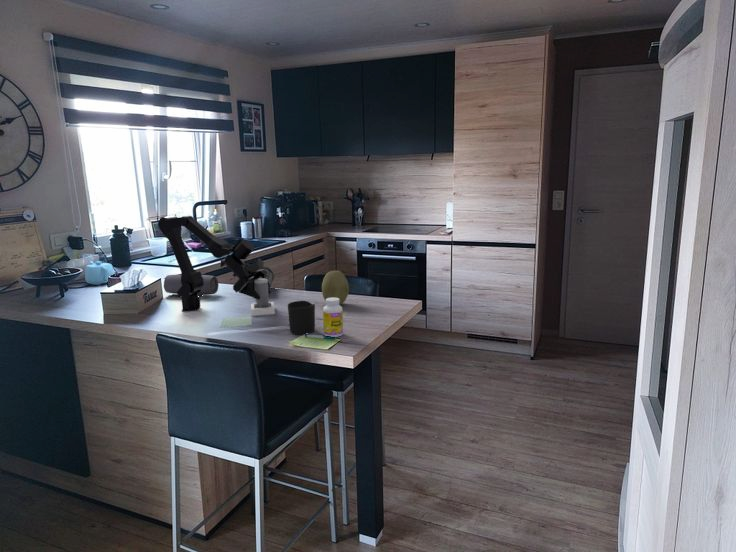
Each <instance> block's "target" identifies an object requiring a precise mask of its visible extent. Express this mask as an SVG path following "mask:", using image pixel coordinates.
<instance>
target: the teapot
mask: <svg viewBox="0 0 736 552" xmlns="http://www.w3.org/2000/svg"><path fill="white" fill-rule="evenodd" d="M89 263H90V264H88V265H85V270H84V271H85V272H84V278H85V281H86V283H87V284H90V285H95V286H101V284H108V283H107V280H108V277H109V276H110V275H112V274H115V275H116V273H115V270H114V266H113V265H112V264H111V263H108V262H102V261H101V260H100V261H95V262H94V261H92V260H90V261H89Z"/></svg>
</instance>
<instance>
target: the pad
mask: <svg viewBox="0 0 736 552" xmlns="http://www.w3.org/2000/svg"><path fill="white" fill-rule="evenodd" d="M252 317H253V316H241V317H227V318H222V319H221V321H220V322H221V323H220V328H234V327H243V326H244V327H246V326H252Z"/></svg>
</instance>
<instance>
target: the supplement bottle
mask: <svg viewBox="0 0 736 552" xmlns="http://www.w3.org/2000/svg"><path fill="white" fill-rule="evenodd" d="M339 302H340V301H339V298H335V297H332V298H327V299H326V301H325V304H326V305H325V306H323V309H322V315H323V316H322V317H323V336H325V337H326V336H331V337H335V338H340V337H341V336H343V333H344V327H343V325H344V324H343V323H344V319H343V318H344V317H343V316H344V315H343V313H344V311H343V307H342V306H341V305H339ZM339 336H340V337H339Z"/></svg>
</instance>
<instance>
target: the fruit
mask: <svg viewBox="0 0 736 552" xmlns="http://www.w3.org/2000/svg"><path fill="white" fill-rule="evenodd" d="M349 285H350V284H349V281H348V279H347V277H346V276H345V274H344V273H343V272H341V271H340V270H335V269H334V270H330V271H328V272H327V273H326V274H325V276H324V277H323V280H322V283H321V293H322V297H323V299H324V301H325V302H326V299H327V298H332V297H335V298H339V301H340V302H339V305H340V306H341V305H342V304H344V302H345V301H346V300H347V298H348V295H349V291H350V290H349V289H350V287H349Z"/></svg>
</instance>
